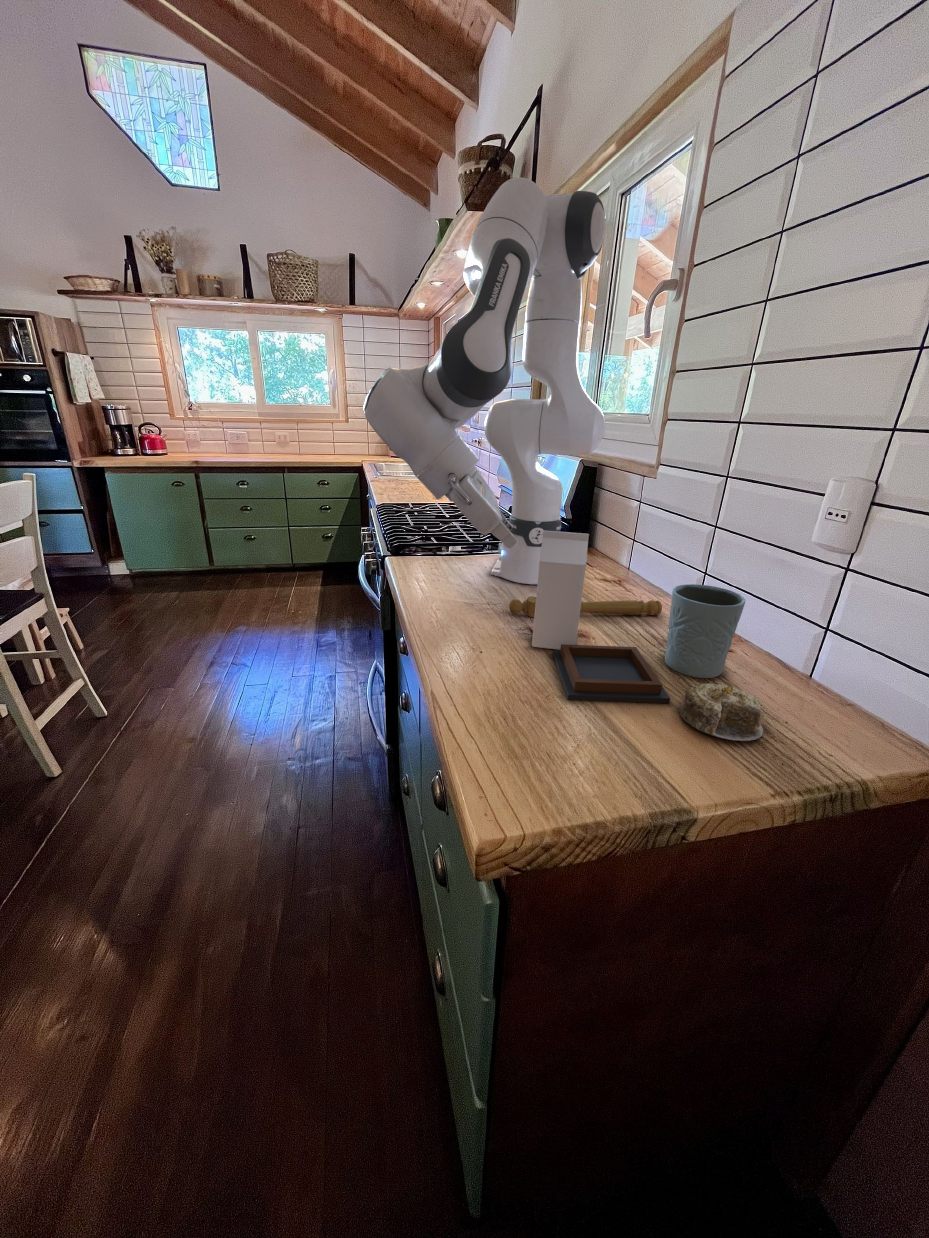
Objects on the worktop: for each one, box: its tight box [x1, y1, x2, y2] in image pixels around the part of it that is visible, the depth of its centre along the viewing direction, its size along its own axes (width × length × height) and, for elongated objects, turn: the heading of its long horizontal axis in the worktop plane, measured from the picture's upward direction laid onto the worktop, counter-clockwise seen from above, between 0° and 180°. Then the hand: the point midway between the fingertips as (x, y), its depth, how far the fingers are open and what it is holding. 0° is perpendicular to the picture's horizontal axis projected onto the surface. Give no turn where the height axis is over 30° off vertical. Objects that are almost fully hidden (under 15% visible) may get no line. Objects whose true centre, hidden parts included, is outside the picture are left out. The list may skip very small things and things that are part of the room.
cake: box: [678, 683, 764, 742], centre depth 64 cm, size 10×10×5 cm
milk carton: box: [531, 531, 590, 650], centre depth 82 cm, size 7×7×19 cm
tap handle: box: [508, 596, 663, 618], centre depth 97 cm, size 3×3×30 cm
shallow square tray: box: [552, 644, 671, 704], centre depth 74 cm, size 14×14×2 cm
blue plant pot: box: [664, 583, 746, 679], centre depth 77 cm, size 10×10×12 cm
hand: (511, 537), depth 79 cm, fingers open, 8 cm apart
